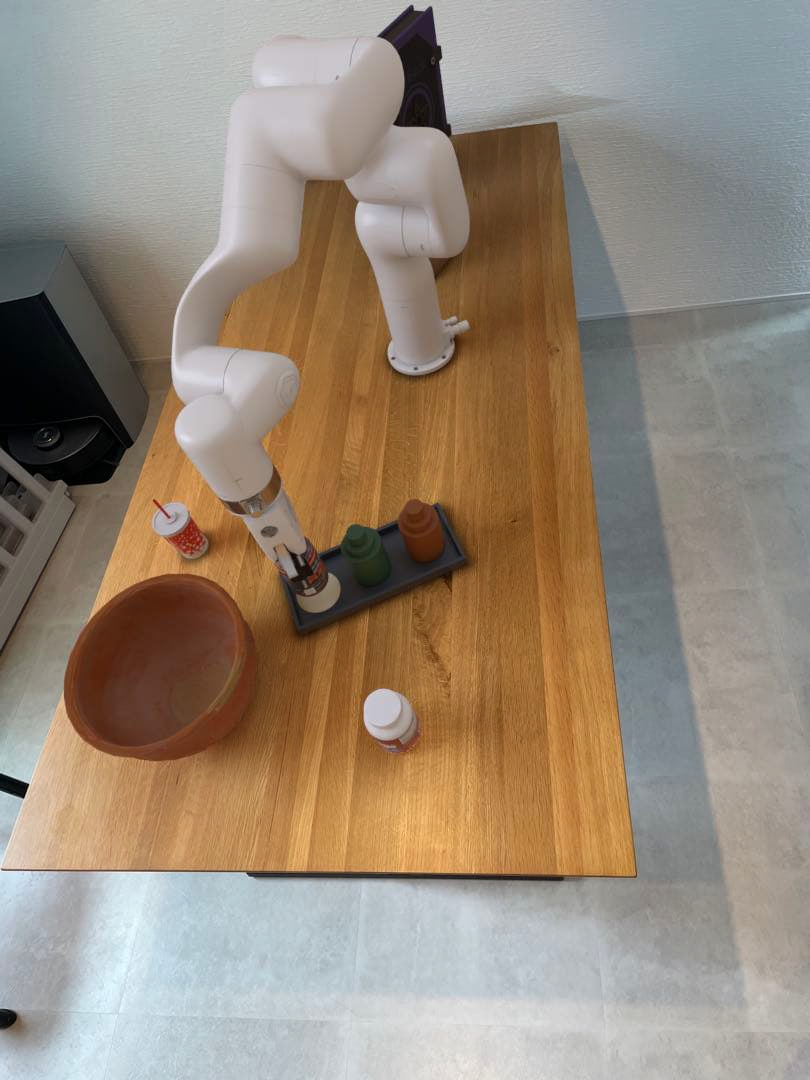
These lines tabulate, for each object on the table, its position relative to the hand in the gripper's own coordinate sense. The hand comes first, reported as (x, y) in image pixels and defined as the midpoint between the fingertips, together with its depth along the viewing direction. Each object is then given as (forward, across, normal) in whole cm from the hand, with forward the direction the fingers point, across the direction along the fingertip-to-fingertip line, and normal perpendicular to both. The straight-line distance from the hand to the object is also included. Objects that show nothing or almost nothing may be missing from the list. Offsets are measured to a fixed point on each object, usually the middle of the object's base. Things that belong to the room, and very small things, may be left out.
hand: (296, 557), depth 95 cm
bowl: (+11, -8, +21) cm, 25 cm away
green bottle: (+11, 0, -9) cm, 14 cm away
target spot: (+11, 0, 0) cm, 11 cm away
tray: (+11, 0, -9) cm, 14 cm away
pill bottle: (+11, -25, -4) cm, 28 cm away
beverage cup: (+11, +18, +17) cm, 27 cm away
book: (+11, +91, -52) cm, 105 cm away
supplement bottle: (+7, 0, 0) cm, 7 cm away
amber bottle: (+11, 0, -18) cm, 21 cm away
